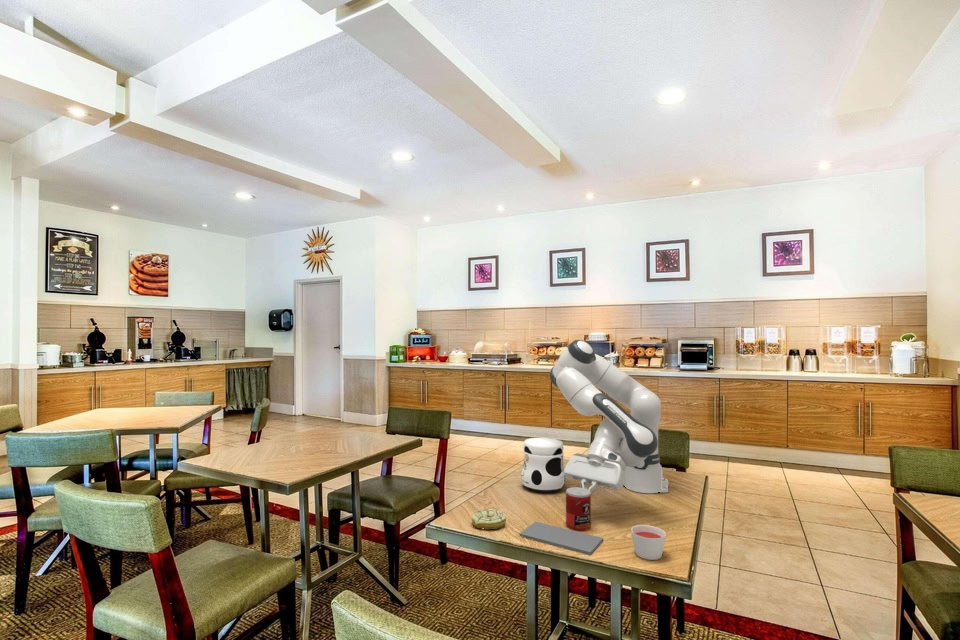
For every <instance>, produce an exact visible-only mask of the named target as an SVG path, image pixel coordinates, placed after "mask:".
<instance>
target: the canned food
mask: <svg viewBox="0 0 960 640" xmlns="http://www.w3.org/2000/svg"><path fill="white" fill-rule="evenodd" d="M591 496H592V494H591V492H590V491H589V490H587V489H585V488H582V487H578V486H575V487H569V488H568V487H567V489H566V491H565V524H566V526H567V529H568V528H569V530H573V531H577V532H584V531H588V530H590V528H591V523H592V522H591V521H592V520H591V519H592V514H591V513H592V512H591V511H592V510H591V509H592V497H591Z"/></svg>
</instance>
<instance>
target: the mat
mask: <svg viewBox="0 0 960 640" xmlns="http://www.w3.org/2000/svg"><path fill="white" fill-rule="evenodd" d="M519 535H520V536H523V537H522V538H524V537H526V538H525V539H528V538H530V539H529V540H531V539H533V540H532V541H535V540H537V541H536V542H539V541H540V543H543V542H544V543H543V544H546V543H547V544H548V545H551V546H555V547H558V548H561V547H562V548H563V549H566V550H569V551H573V552H576V553H580V554H585V555H588V556H591V555H592V554H594V553H595V551H596V550H597V549H598V548H599V546H600V545H601V544H602V543H603V542H604V537H602V536H597V535H592V534H589V533H585V532H582V531H576V530H572V529H570V528H569V529H568V528H564V527H560V526H555V525H551V524H548V523H543V522H539V521H534V522H533V523H532V524H530V525H528V526H527V527H526V528H525V529H523V530H522V531H521V532H519ZM519 535H518V536H519ZM520 536H519V537H520Z"/></svg>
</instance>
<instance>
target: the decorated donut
mask: <svg viewBox="0 0 960 640" xmlns="http://www.w3.org/2000/svg"><path fill="white" fill-rule="evenodd" d="M506 517H507V516H506V514H505V513H504V511H501V510H499V509H495V508H490V509H489V508H487V509H481V510H477V511H476V512H474V513H473V515H472V516H471V519H472V520H471V521H472V522H471V523H472V526H473V525H474V526H473V527H475V526H476V527H475V528H477V527H478V528H477V529H479V528H484V529H485V530H486V529H495V530H498V528H499V529H501V528H502V526H503V527H504V526H505V524H506V523H507V518H506Z"/></svg>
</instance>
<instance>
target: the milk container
mask: <svg viewBox="0 0 960 640" xmlns="http://www.w3.org/2000/svg"><path fill="white" fill-rule="evenodd" d="M564 468H565V466H564V443H563V441H562V440H560V439H557V438H551V437H530V438H526V439H524V442H523V463H522V468H521V472H520V473H521V474H520V477H521V478H520V479H521V483H522V484H523V485H522V486H524V487H525V488H527V489H528V490H532V491H535V492H544V493H547V492H548V493H549V492H550V493H551V492H556V491H559V490H561V489H563V488H564V486H565V483H566V478H567V477H566V475H565V473H564Z"/></svg>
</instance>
